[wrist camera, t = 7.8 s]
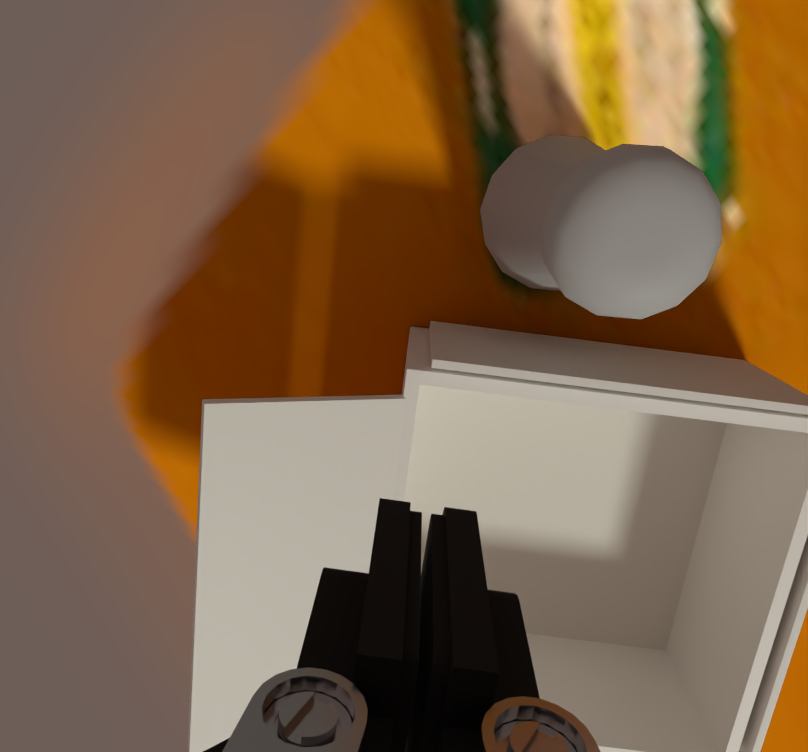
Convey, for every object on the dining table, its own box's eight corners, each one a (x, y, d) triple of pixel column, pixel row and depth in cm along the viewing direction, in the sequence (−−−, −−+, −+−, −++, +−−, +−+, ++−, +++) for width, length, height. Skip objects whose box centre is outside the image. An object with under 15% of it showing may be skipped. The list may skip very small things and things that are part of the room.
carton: (411, 313, 30) (408, 356, 23) (765, 358, 30) (871, 413, 23) (371, 629, 34) (358, 746, 27) (679, 666, 35) (746, 793, 27)
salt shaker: (502, 301, 30) (559, 390, 17) (456, 172, 28) (482, 167, 16) (633, 251, 29) (794, 307, 16) (593, 116, 28) (735, 65, 15)
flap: (406, 398, 23) (401, 394, 23) (204, 403, 20) (202, 399, 20) (363, 726, 27) (359, 719, 27) (188, 770, 24) (187, 760, 24)
